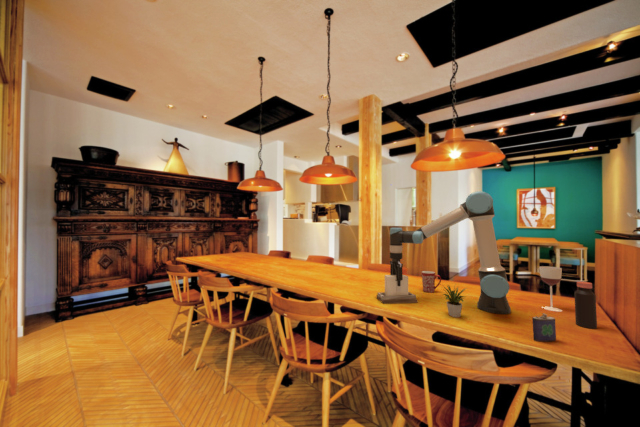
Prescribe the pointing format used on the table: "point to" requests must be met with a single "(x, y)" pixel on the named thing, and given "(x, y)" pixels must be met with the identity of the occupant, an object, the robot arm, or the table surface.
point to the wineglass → (551, 281)
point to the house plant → (454, 301)
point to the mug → (429, 281)
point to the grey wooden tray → (397, 298)
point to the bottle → (585, 306)
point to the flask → (544, 329)
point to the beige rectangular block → (391, 285)
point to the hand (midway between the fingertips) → (396, 289)
